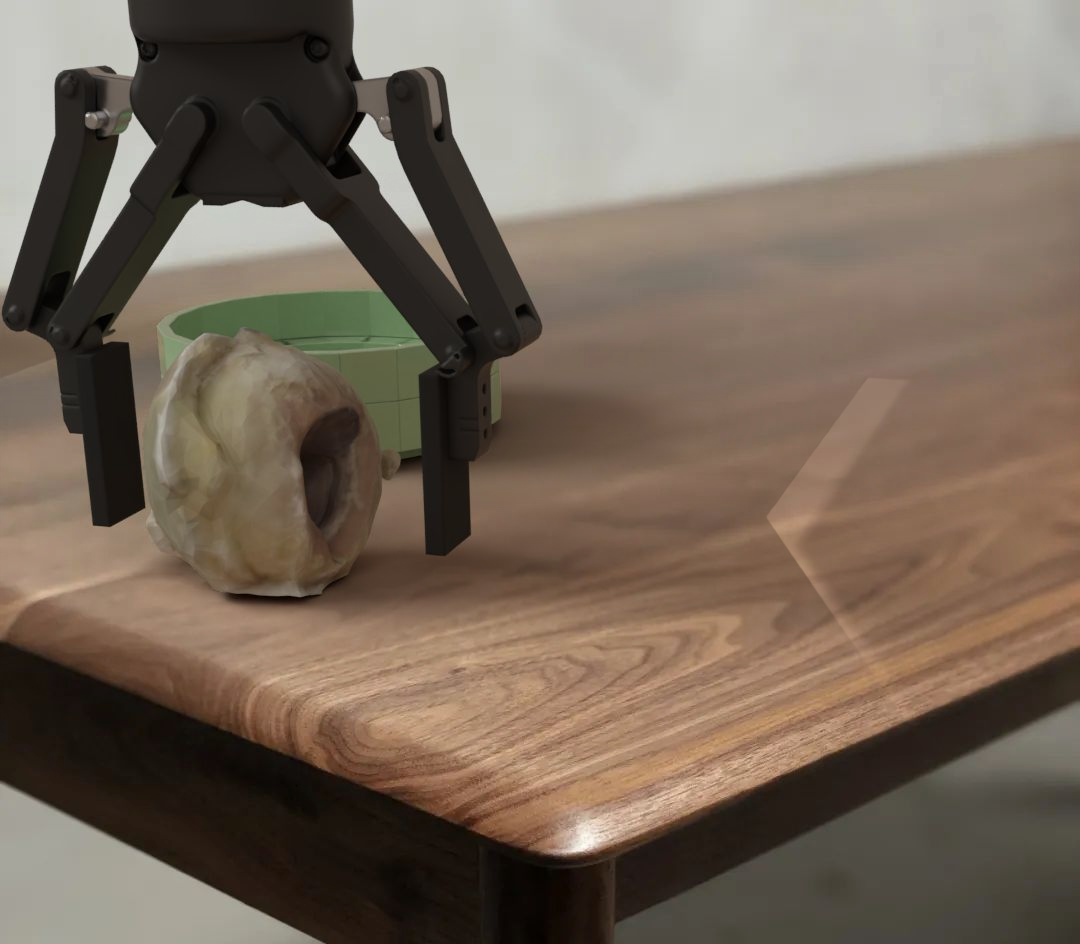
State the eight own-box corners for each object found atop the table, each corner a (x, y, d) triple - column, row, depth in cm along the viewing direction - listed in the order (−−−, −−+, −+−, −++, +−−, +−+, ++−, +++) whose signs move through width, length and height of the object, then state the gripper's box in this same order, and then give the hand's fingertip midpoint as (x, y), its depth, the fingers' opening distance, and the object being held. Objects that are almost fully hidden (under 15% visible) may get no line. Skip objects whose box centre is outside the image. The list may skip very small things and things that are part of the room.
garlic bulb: (188, 667, 68) (68, 431, 62) (204, 560, 75) (97, 340, 69) (429, 587, 67) (328, 341, 61) (422, 486, 74) (331, 258, 69)
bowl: (105, 460, 86) (93, 342, 84) (259, 385, 100) (252, 282, 98) (430, 486, 81) (426, 362, 79) (544, 404, 95) (543, 296, 93)
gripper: (628, -93, 61) (626, 527, 69) (-24, -78, 68) (44, 481, 76) (559, -96, 54) (566, 589, 62) (-154, -80, 61) (-64, 532, 70)
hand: (279, 531), depth 69 cm, fingers open, 13 cm apart
